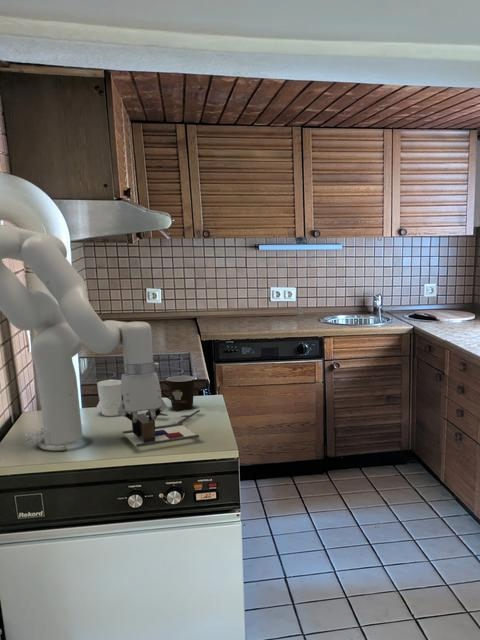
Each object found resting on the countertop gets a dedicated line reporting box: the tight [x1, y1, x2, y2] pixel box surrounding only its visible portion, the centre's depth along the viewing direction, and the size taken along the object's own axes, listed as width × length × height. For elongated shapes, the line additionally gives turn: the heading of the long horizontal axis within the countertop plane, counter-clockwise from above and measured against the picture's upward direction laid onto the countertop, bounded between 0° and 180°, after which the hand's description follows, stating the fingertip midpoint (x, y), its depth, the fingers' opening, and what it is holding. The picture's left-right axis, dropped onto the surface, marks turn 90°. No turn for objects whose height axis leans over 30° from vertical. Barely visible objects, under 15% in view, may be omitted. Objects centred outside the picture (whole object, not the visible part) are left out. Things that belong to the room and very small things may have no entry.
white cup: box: [96, 379, 121, 417], centre depth 219 cm, size 8×8×10 cm
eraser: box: [134, 413, 155, 443], centre depth 191 cm, size 3×10×6 cm, turn 32°
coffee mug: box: [159, 375, 196, 412], centre depth 226 cm, size 12×9×10 cm
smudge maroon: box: [165, 432, 184, 439], centre depth 194 cm, size 4×4×1 cm
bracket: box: [145, 409, 201, 423], centre depth 214 cm, size 14×15×3 cm
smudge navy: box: [155, 430, 168, 436], centre depth 196 cm, size 4×4×1 cm
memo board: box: [122, 422, 200, 448], centre depth 194 cm, size 17×14×2 cm
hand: (144, 433), depth 191 cm, fingers closed on eraser, 3 cm apart
